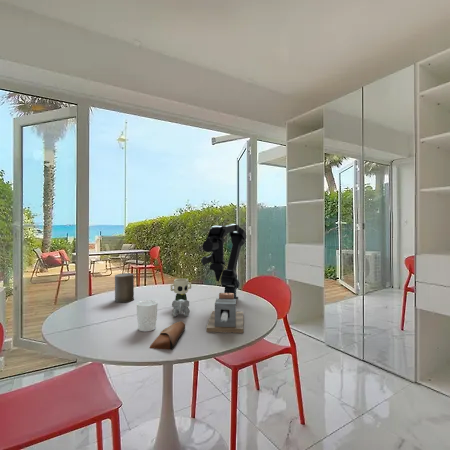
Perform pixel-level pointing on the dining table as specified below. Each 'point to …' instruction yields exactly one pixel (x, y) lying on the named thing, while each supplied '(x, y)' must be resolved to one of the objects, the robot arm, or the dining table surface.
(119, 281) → the pillar candle
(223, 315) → the shaft
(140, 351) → the dining table surface
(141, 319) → the white cup
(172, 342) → the sunglasses case
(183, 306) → the elephant statuette
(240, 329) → the bearing base
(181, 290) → the character mug
